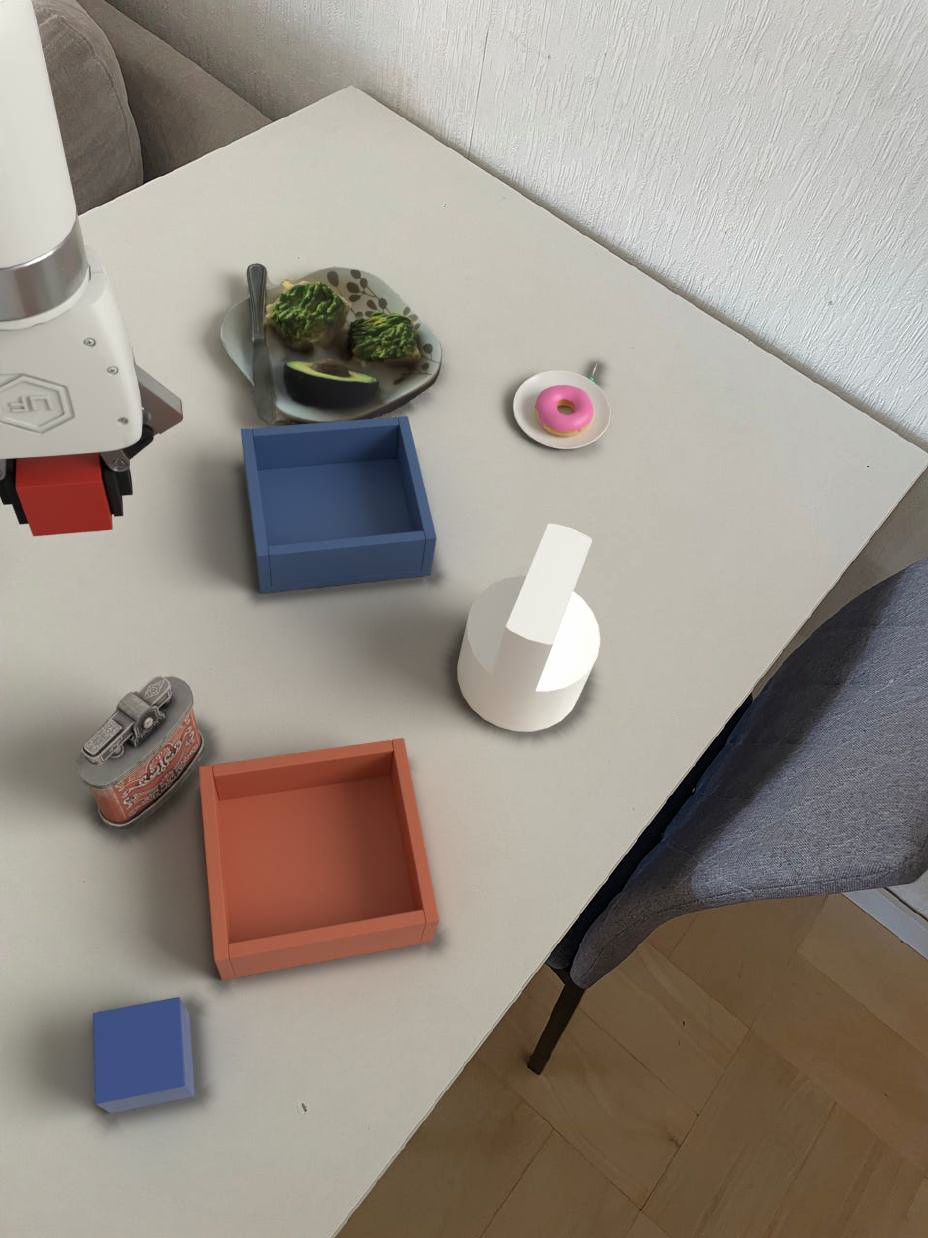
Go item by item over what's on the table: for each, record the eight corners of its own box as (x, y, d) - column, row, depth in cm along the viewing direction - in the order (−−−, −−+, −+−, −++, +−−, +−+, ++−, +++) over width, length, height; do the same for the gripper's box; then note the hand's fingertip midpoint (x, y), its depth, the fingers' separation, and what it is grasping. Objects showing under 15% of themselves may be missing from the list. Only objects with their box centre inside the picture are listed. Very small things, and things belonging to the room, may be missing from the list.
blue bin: (260, 594, 74) (256, 556, 70) (244, 470, 80) (240, 428, 76) (430, 575, 76) (436, 537, 72) (403, 456, 82) (407, 415, 78)
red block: (33, 536, 60) (15, 487, 56) (33, 477, 62) (16, 427, 59) (112, 530, 61) (100, 481, 57) (110, 472, 63) (98, 422, 60)
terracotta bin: (221, 980, 60) (214, 961, 56) (206, 796, 66) (198, 766, 61) (432, 942, 62) (439, 920, 58) (399, 767, 68) (404, 737, 64)
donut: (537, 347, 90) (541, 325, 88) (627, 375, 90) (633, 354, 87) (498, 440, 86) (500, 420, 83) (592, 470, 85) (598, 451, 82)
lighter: (178, 719, 68) (157, 644, 60) (217, 748, 67) (201, 676, 59) (87, 810, 64) (51, 743, 56) (127, 842, 63) (96, 779, 55)
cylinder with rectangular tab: (560, 750, 70) (599, 666, 60) (438, 703, 71) (457, 612, 61) (596, 646, 75) (638, 552, 65) (481, 604, 76) (505, 504, 65)
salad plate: (169, 310, 88) (161, 266, 84) (347, 247, 94) (348, 204, 90) (282, 462, 80) (279, 422, 76) (466, 382, 87) (473, 342, 83)
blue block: (110, 1114, 56) (94, 1104, 52) (107, 1028, 58) (92, 1012, 54) (195, 1097, 56) (185, 1086, 53) (189, 1012, 59) (179, 996, 55)
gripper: (-222, 314, 43) (-84, 566, 58) (195, 299, 46) (220, 539, 62) (-201, 200, 46) (-77, 464, 62) (183, 194, 50) (210, 445, 65)
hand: (71, 499), depth 61 cm, fingers closed on red block, 4 cm apart
